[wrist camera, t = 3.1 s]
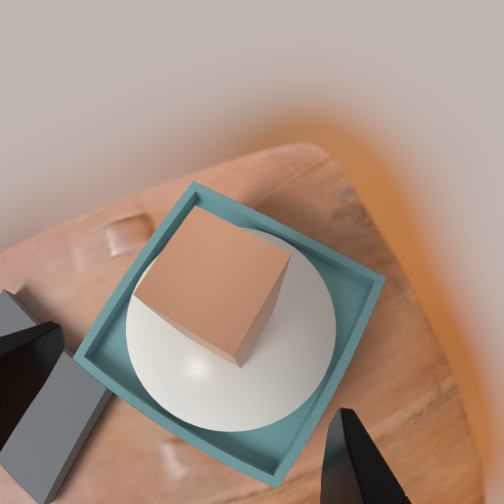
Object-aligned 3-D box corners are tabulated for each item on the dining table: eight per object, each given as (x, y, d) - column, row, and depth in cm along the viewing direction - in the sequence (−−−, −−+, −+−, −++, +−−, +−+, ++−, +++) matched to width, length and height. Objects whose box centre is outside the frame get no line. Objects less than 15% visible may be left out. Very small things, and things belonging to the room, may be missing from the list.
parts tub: (353, 305, 21) (386, 277, 15) (269, 460, 17) (277, 488, 11) (205, 228, 23) (193, 180, 18) (115, 367, 19) (72, 358, 14)
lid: (362, 288, 16) (435, 215, 9) (269, 464, 13) (287, 532, 5) (199, 205, 18) (173, 98, 11) (97, 356, 15) (-3, 326, 7)
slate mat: (116, 388, 18) (106, 387, 17) (52, 502, 14) (41, 506, 13) (14, 294, 21) (3, 289, 19) (-37, 401, 17) (-48, 400, 15)
